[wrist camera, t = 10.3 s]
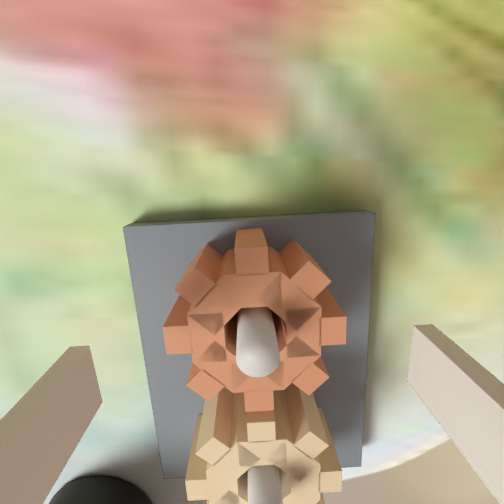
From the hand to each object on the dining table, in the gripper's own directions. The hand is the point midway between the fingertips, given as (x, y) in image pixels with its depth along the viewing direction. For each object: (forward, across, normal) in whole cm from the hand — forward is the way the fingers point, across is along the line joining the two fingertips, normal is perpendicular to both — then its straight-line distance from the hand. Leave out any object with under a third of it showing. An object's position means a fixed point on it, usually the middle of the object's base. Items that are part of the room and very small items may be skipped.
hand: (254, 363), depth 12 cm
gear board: (+10, 0, -6) cm, 11 cm away
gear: (+8, 0, -1) cm, 8 cm away
